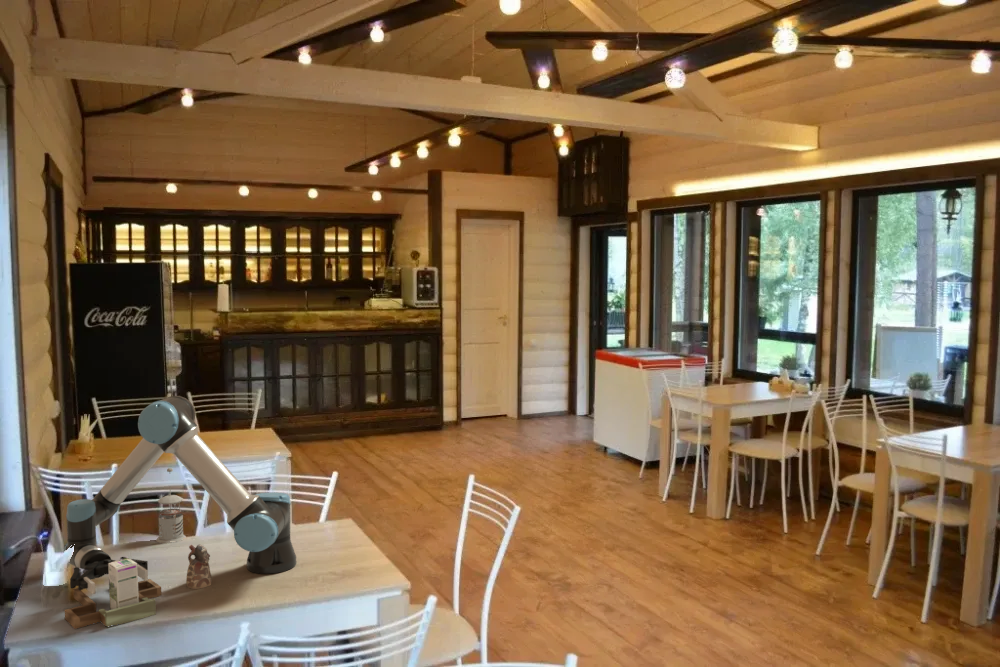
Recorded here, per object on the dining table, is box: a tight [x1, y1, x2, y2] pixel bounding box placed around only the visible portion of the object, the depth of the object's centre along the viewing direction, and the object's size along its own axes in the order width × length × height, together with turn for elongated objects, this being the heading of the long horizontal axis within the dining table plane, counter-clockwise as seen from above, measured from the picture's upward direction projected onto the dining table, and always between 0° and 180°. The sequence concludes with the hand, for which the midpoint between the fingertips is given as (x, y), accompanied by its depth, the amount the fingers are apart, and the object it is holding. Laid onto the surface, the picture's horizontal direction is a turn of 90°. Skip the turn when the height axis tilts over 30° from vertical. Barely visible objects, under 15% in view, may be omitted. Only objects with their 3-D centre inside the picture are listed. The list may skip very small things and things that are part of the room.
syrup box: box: [108, 557, 139, 610], centre depth 214 cm, size 6×6×14 cm
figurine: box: [185, 544, 213, 590], centre depth 236 cm, size 7×7×12 cm
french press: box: [155, 467, 187, 544], centre depth 278 cm, size 10×12×25 cm
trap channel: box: [64, 578, 162, 630], centre depth 220 cm, size 27×25×4 cm
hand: (120, 582), depth 215 cm, fingers open, 13 cm apart
